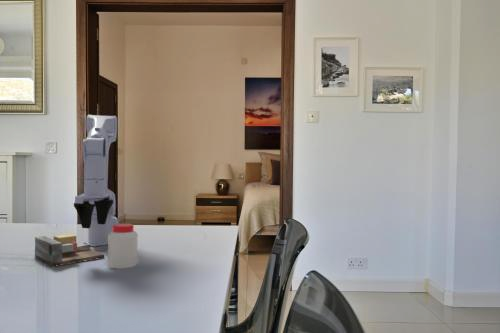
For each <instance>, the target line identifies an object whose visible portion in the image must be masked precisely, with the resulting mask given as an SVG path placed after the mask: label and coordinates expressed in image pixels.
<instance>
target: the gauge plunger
mask: <svg viewBox="0 0 500 333" xmlns="http://www.w3.org/2000/svg"><path fill="white" fill-rule="evenodd" d="M77 245H78V242H77V241H76V242H71V243H70V244H62V252H69V251H74V252H77Z"/></svg>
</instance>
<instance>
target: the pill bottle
mask: <svg viewBox="0 0 500 333" xmlns="http://www.w3.org/2000/svg"><path fill="white" fill-rule="evenodd" d="M134 229H135V228H134V224H132V223H119V224H115V225H113V231H112V232H111V233H110V234H109V235H108V244H107V267H108V268H109V267H111V268H110V269H113V268H116V270H117V269H118V270H123V269H129V268H130V269H131V268H133V267H136V266H137V265H138V243H139V242H138V239H139V238H138V233H137V231H135V230H134Z"/></svg>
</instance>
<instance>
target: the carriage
mask: <svg viewBox="0 0 500 333" xmlns="http://www.w3.org/2000/svg"><path fill="white" fill-rule="evenodd" d="M53 240H56V241H58V242H61V243H62V244H70V243H71V242H76V243H77V235H75V234H72V233H66V234H60V235H53Z"/></svg>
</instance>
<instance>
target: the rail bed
mask: <svg viewBox="0 0 500 333" xmlns="http://www.w3.org/2000/svg"><path fill="white" fill-rule="evenodd" d="M96 258H101V259H105V254H104V253H101V252H98V251H96V250H94V249H91V245H90V244H85V243H83V244H79V245H78V244H77V252H74V251H69V252H62V243H61V242H58V241H56V240H54V238H51V237H49V236H45V235H44V236H36V237H34V259H36V260H38V261H40V262H42V263H44V264H45V265H48V266H50V265H51V266H50V267H52V266H54V267H57V266H56V265H60V266H62V265H61V264H66V265H69V264H68V263H72V264H74V263H73V262H78V263H80V262H79V261H83V262H85V261H84V260H89V261H91V260H90V259H95V260H97V259H96Z"/></svg>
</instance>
